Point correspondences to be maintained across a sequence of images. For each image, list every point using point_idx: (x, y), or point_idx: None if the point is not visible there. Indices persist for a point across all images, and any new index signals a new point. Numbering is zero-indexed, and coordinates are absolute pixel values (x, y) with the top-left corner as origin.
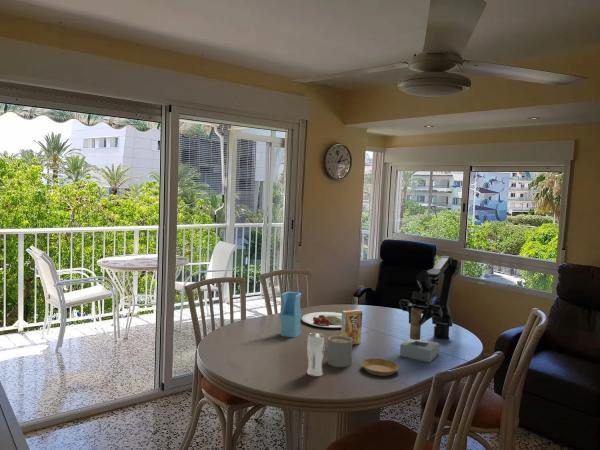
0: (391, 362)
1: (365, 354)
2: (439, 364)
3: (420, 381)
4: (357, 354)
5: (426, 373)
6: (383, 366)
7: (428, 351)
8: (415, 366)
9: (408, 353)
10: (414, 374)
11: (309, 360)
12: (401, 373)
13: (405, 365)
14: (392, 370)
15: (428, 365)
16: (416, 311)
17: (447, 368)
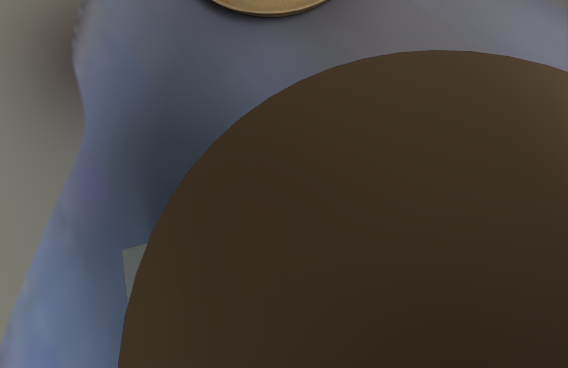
0: (270, 11)
1: (508, 52)
2: (97, 293)
3: (80, 14)
4: (530, 18)
5: (98, 105)
6: (300, 3)
7: (140, 248)
8: (190, 137)
9: None
10: (138, 50)
11: None
12: (189, 14)
13: (238, 104)
14: (237, 2)
15: (143, 214)
16: (273, 126)
17: (31, 269)
